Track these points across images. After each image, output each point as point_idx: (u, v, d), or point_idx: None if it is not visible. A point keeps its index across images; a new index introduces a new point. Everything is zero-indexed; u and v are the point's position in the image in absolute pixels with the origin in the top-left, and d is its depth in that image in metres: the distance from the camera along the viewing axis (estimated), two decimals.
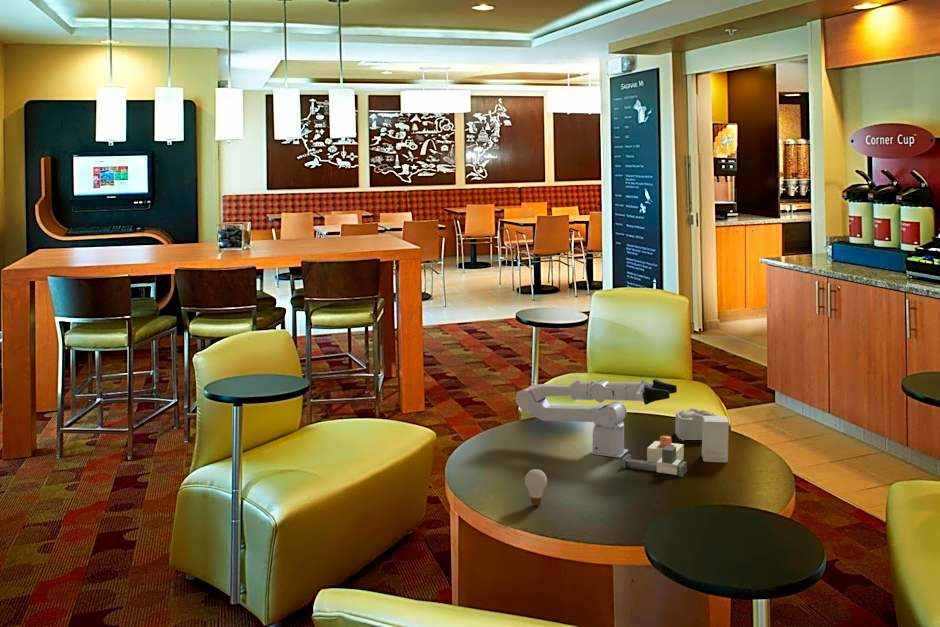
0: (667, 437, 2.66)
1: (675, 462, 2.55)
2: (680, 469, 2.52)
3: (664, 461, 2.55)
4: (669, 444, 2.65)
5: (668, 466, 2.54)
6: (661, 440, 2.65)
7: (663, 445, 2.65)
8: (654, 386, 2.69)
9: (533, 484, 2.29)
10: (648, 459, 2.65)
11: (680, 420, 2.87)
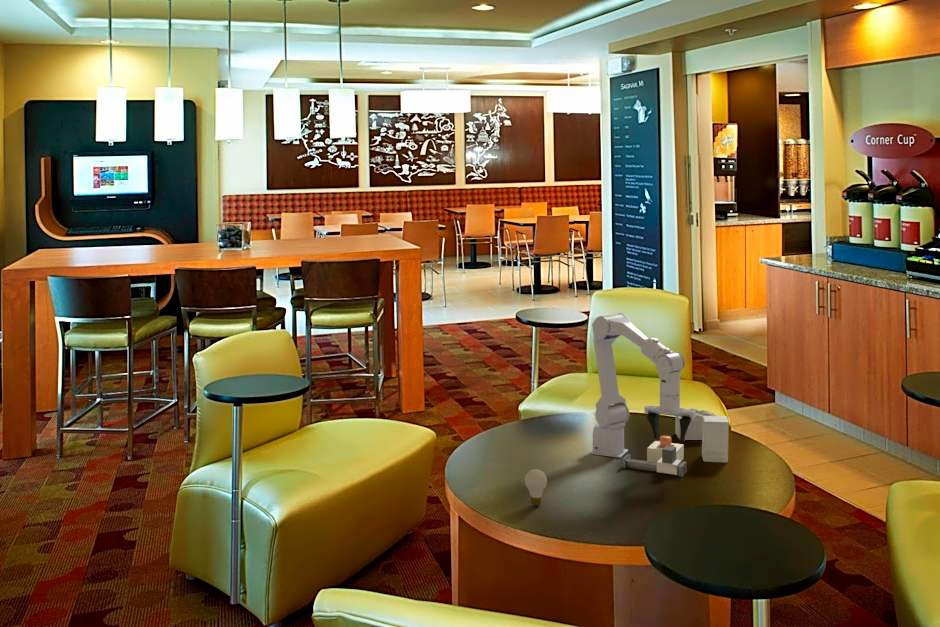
0: (667, 437, 2.66)
1: (675, 462, 2.55)
2: (680, 469, 2.52)
3: (664, 461, 2.55)
4: (669, 444, 2.65)
5: (668, 466, 2.54)
6: (661, 440, 2.65)
7: (663, 445, 2.65)
8: None
9: (533, 484, 2.29)
10: (648, 459, 2.65)
11: None
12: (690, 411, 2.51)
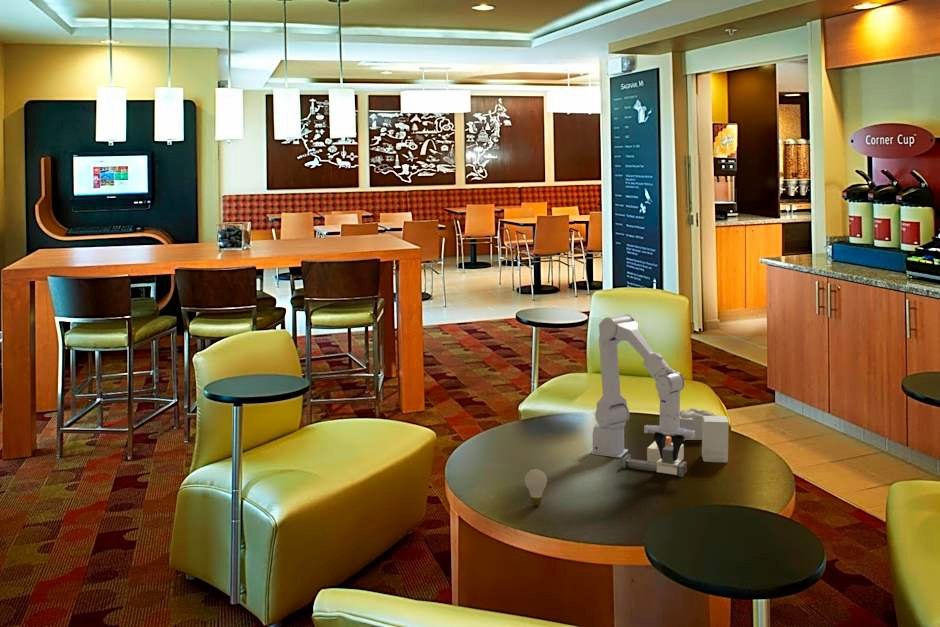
0: (667, 437, 2.66)
1: (675, 462, 2.55)
2: (680, 469, 2.52)
3: (664, 461, 2.55)
4: (669, 444, 2.65)
5: (668, 466, 2.54)
6: None
7: None
8: None
9: (533, 484, 2.29)
10: (648, 459, 2.65)
11: (680, 420, 2.87)
12: (690, 431, 2.52)
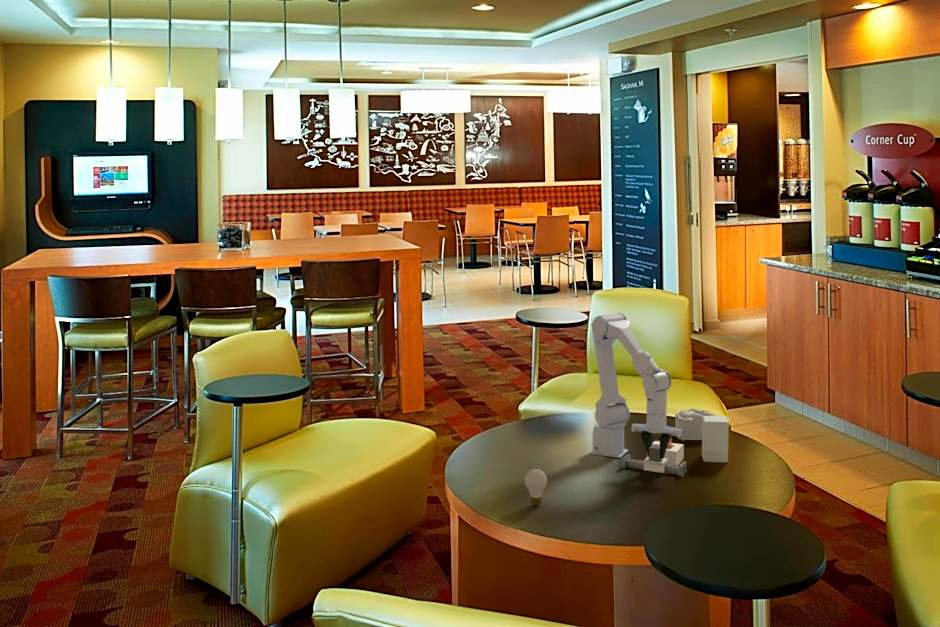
0: None
1: (662, 460, 2.57)
2: (680, 469, 2.52)
3: (651, 459, 2.57)
4: (669, 444, 2.65)
5: (655, 464, 2.56)
6: None
7: None
8: None
9: (533, 484, 2.29)
10: None
11: (680, 420, 2.87)
12: (676, 429, 2.54)
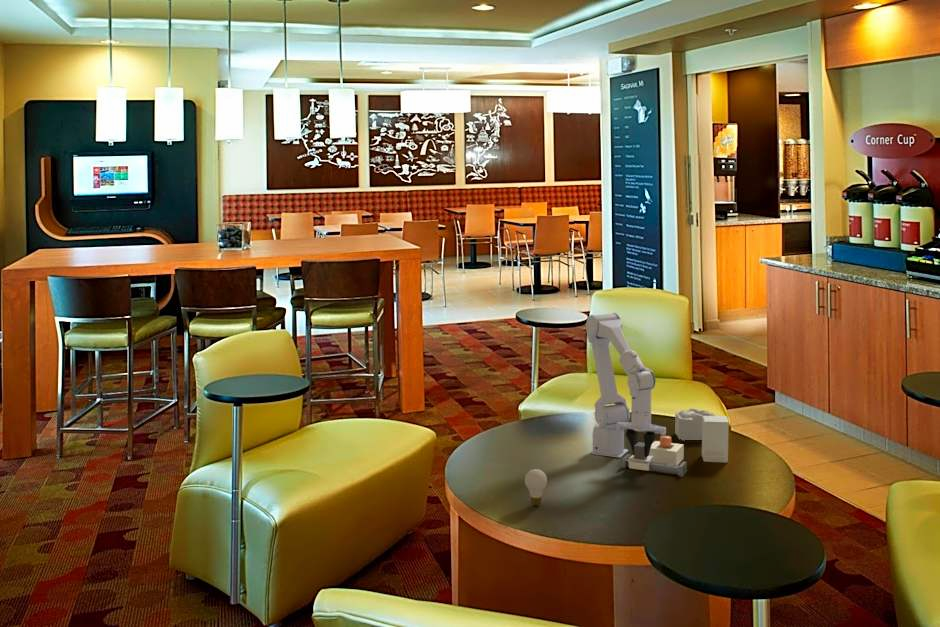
0: (667, 437, 2.66)
1: (647, 458, 2.59)
2: (680, 469, 2.52)
3: (636, 457, 2.59)
4: (669, 444, 2.65)
5: (640, 462, 2.58)
6: (661, 440, 2.65)
7: (663, 445, 2.65)
8: None
9: (533, 484, 2.29)
10: None
11: (680, 420, 2.87)
12: (661, 428, 2.56)
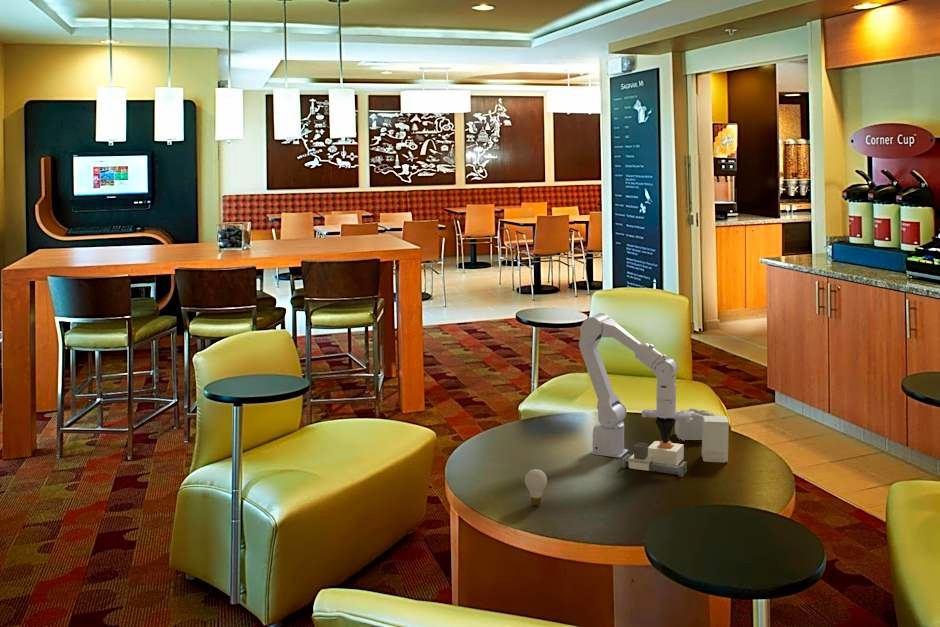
0: None
1: (647, 458, 2.59)
2: (680, 469, 2.52)
3: (636, 457, 2.59)
4: None
5: (640, 462, 2.58)
6: (661, 445, 2.66)
7: None
8: None
9: (533, 484, 2.29)
10: None
11: None
12: (685, 415, 2.62)
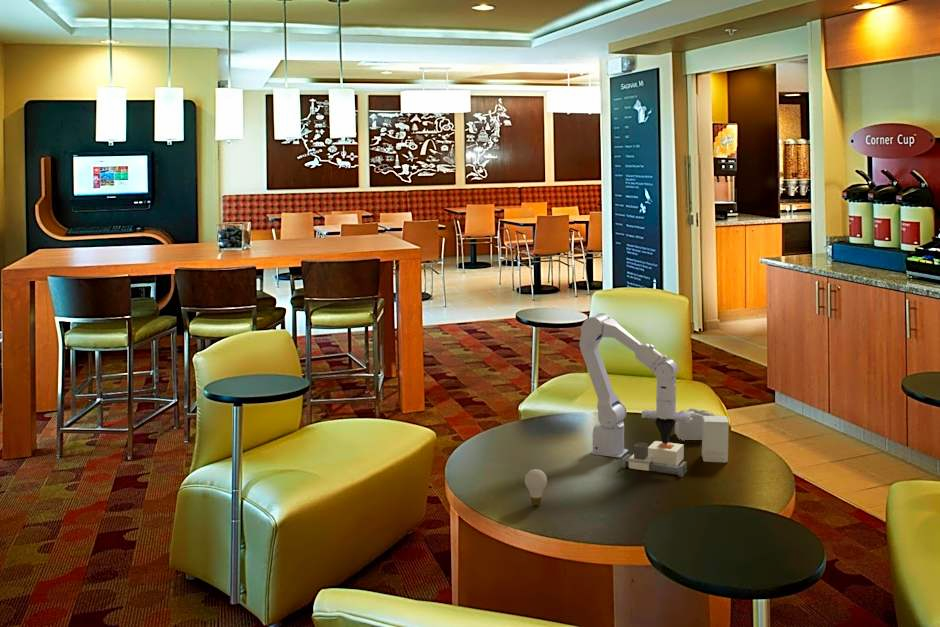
0: (667, 444, 2.66)
1: (647, 458, 2.59)
2: (680, 469, 2.52)
3: (636, 457, 2.59)
4: None
5: (640, 462, 2.58)
6: (661, 447, 2.66)
7: None
8: None
9: (533, 484, 2.29)
10: None
11: None
12: (685, 416, 2.62)
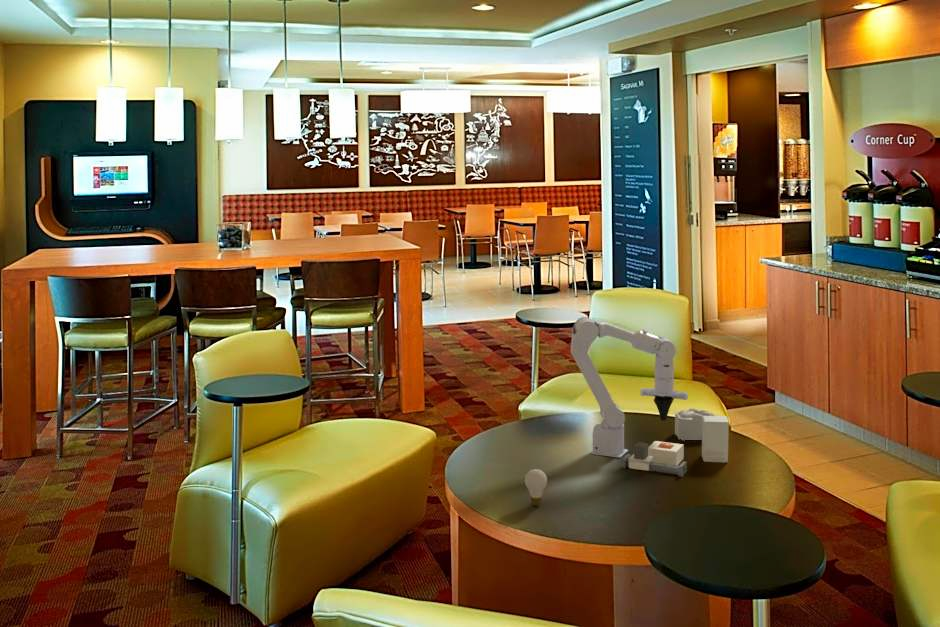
0: (667, 444, 2.66)
1: (647, 458, 2.59)
2: (680, 469, 2.52)
3: (636, 457, 2.59)
4: None
5: (640, 462, 2.58)
6: (661, 447, 2.66)
7: None
8: None
9: (533, 484, 2.29)
10: None
11: (680, 420, 2.87)
12: (683, 393, 2.70)
